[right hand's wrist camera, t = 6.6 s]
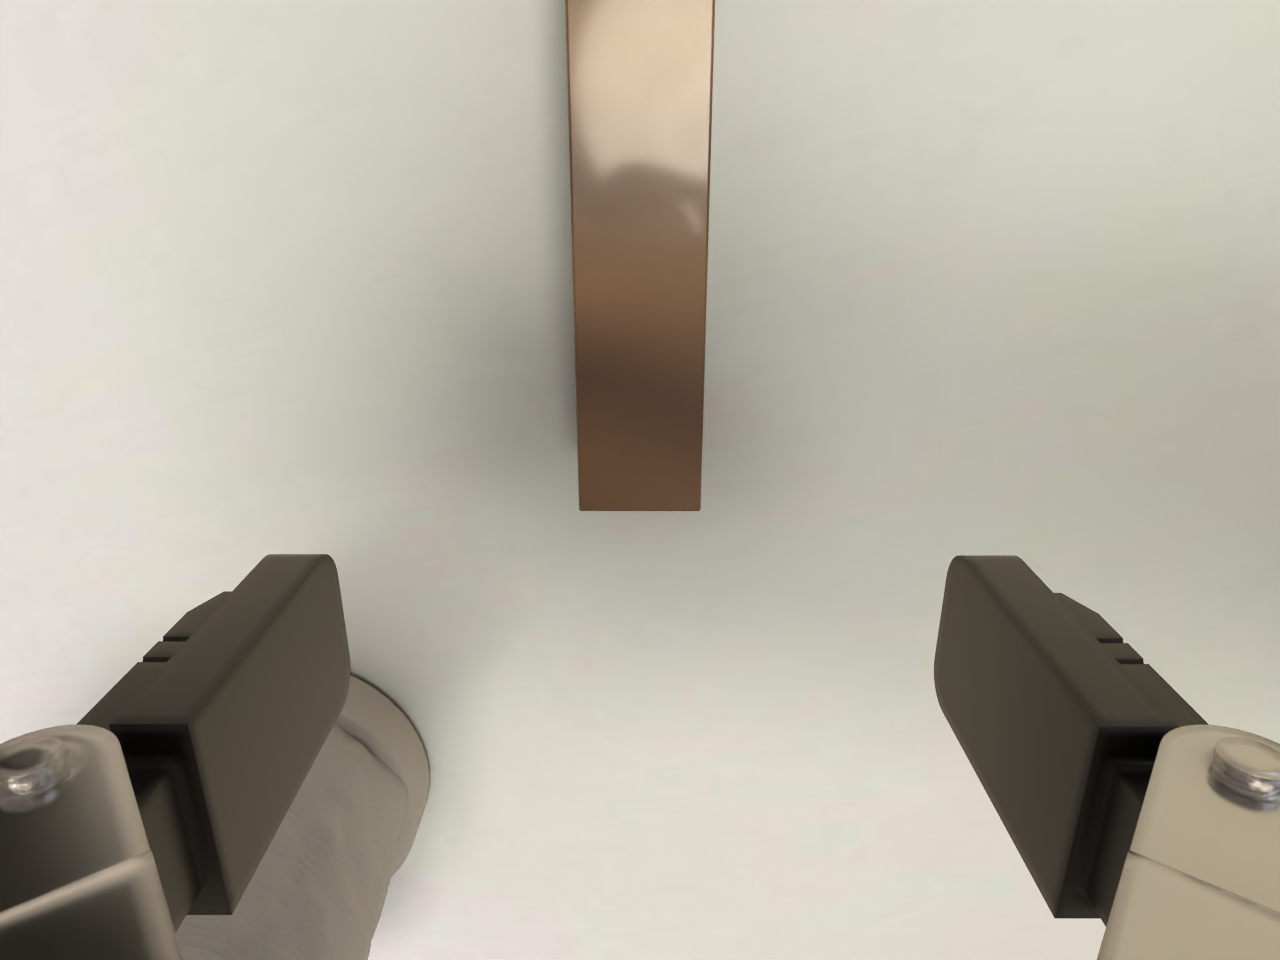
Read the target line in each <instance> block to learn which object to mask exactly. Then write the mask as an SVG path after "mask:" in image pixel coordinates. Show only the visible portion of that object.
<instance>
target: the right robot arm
mask: <svg viewBox="0 0 1280 960" xmlns="http://www.w3.org/2000/svg"><path fill="white" fill-rule="evenodd" d="M934 680H935V688H936V693H937V698H938V701H939V704H940V707H941V709H942V711H943V713H944V715H945V717H946V719H947V721H948V722H949V724H950V726H951V728H952V730H953V732H954V733H955V735H956V737H957V739H958V741H959V743H960V744H961V746H962V748H963V750H964V752H965V754H966V756H967V757H968V759H969V761H970V763H971V765H972V767H973V768H974V770H975V772H976V774H977V776H978V778H979V779H980V781H981V783H982V785H983V787H984V789H985V791H986V792H987V794H988V796H989V798H990V800H991V802H992V803H993V805H994V807H995V809H996V811H997V813H998V815H999V816H1000V818H1001V820H1002V822H1003V824H1004V826H1005V827H1006V829H1007V831H1008V833H1009V835H1010V837H1011V838H1012V840H1013V842H1014V844H1015V846H1016V848H1017V850H1018V851H1019V853H1020V855H1021V857H1022V859H1023V861H1024V862H1025V864H1026V866H1027V868H1028V870H1029V872H1030V873H1031V875H1032V877H1033V879H1034V881H1035V883H1036V885H1037V886H1038V888H1039V890H1040V892H1041V894H1042V896H1043V897H1044V899H1045V901H1046V903H1047V905H1048V907H1049V909H1050V910H1051V912H1052V914H1053V916H1054V918H1101V919H1102V921H1103V923H1104V924H1105V926H1106V930H1105V933H1104V937H1103V940H1102V944H1101V947H1100V951H1099V954H1098V958H1097V960H1280V744H1278V743H1276V742H1274V741H1272V740H1269V739H1267V738H1264V737H1261V736H1258V735H1256V734H1253V733H1249V732H1245V731H1242V730H1238V729H1233V728H1228V727H1223V726H1215V725H1209V724H1208V723H1207V722H1206V721H1205V720H1204V719H1203V718H1202V717H1201V716H1200V715H1199V714H1198V713H1197V712H1196V711H1195V710H1194V709H1193V708H1192V707H1191V706H1190V705H1189V704H1188V703H1187V702H1186V701H1185V700H1184V699H1183V698H1182V697H1181V696H1180V695H1179V694H1178V693H1177V692H1176V691H1175V690H1174V689H1173V688H1172V687H1171V686H1170V685H1169V684H1168V683H1167V682H1166V681H1165V680H1164V679H1163V678H1162V677H1161V676H1160V675H1159V674H1158V673H1157V672H1156V671H1155V670H1154V669H1153V668H1152V667H1151V666H1150V665H1149V664H1144V663H1143V658H1142V657H1141V656H1140V655H1139V654H1138V653H1137V652H1136V651H1135V650H1134V649H1133V648H1132V647H1131V646H1130V645H1129V644H1128V643H1123V638H1122V637H1121V636H1120V635H1119V634H1118V633H1117V632H1116V631H1115V630H1114V629H1113V628H1112V627H1111V626H1110V625H1109V624H1108V623H1107V622H1106V621H1105V620H1104V619H1103V618H1102V617H1101V616H1100V615H1099V614H1098V613H1096V612H1094V611H1092V610H1091V609H1089V608H1087V607H1085V606H1083V605H1082V604H1080V603H1078V602H1076V601H1075V600H1073V599H1071V598H1069V597H1067V596H1066V595H1064V594H1062V593H1053V592H1052V591H1051V590H1050V589H1049V588H1048V587H1047V586H1046V585H1045V584H1044V583H1043V582H1042V581H1041V579H1040V578H1039V577H1038V576H1037V575H1036V574H1035V573H1034V572H1033V571H1032V570H1031V569H1030V568H1029V567H1028V566H1027V565H1026V563H1025V562H1024V561H1023V560H1022V559H1020V558H1019V557H1017V556H956V557H955V558H954V559H953V560H952V561H951V563H950V566H949V569H948V573H947V578H946V585H945V592H944V599H943V605H942V612H941V619H940V626H939V633H938V640H937V646H936V653H935V661H934ZM349 683H350V656H349V649H348V642H347V635H346V628H345V621H344V614H343V607H342V600H341V593H340V586H339V579H338V573H337V569H336V565H335V563H334V561H333V559H332V558H331V557H330V556H329V555H327V554H270V555H267V556H265V557H264V558H263V559H262V560H261V561H260V562H259V563H258V565H257V566H256V567H255V568H254V569H253V570H252V571H251V572H250V573H249V574H248V575H247V576H246V577H245V579H244V580H243V581H242V582H241V583H240V584H239V585H238V586H237V587H236V588H235V589H234V590H233V591H232V592H223V593H221V594H219V595H217V596H215V597H214V598H212V599H210V600H208V601H207V602H205V603H203V604H201V605H199V606H198V607H196V608H194V609H192V610H191V611H189V612H187V613H186V614H185V615H184V616H183V617H182V618H181V619H180V620H179V621H178V622H177V623H176V624H175V625H174V626H173V627H172V628H171V629H170V630H169V631H168V632H167V633H166V634H165V635H164V636H163V642H157V643H156V644H155V645H154V646H153V648H152V649H151V650H150V651H149V652H148V653H147V654H146V655H145V656H144V657H143V662H138V663H137V664H136V665H135V666H134V667H133V668H132V669H131V670H130V671H129V672H128V673H127V674H126V675H125V676H124V677H123V678H122V679H121V680H120V681H119V682H118V683H117V684H116V685H115V686H114V687H113V688H112V689H111V690H110V691H109V692H108V693H107V694H106V695H105V696H104V697H103V698H102V699H101V700H100V701H99V702H98V703H97V704H96V705H95V706H94V707H93V708H92V709H91V710H90V711H89V712H88V713H87V714H86V715H85V716H84V717H83V718H82V719H81V720H80V721H79V722H78V723H77V724H76V725H65V726H57V727H52V728H47V729H42V730H38V731H35V732H31V733H27V734H24V735H22V736H19V737H16V738H13V739H11V740H8V741H6V742H4V743H2V744H0V960H183V958H182V954H181V951H180V947H179V944H178V940H177V937H176V932H177V930H178V928H179V927H180V925H181V923H182V922H183V920H184V918H185V917H186V915H232V914H233V912H234V910H235V908H236V907H237V905H238V903H239V901H240V899H241V897H242V895H243V894H244V892H245V890H246V888H247V886H248V884H249V882H250V880H251V879H252V877H253V875H254V873H255V871H256V869H257V867H258V866H259V864H260V862H261V860H262V858H263V856H264V854H265V852H266V851H267V849H268V847H269V845H270V843H271V841H272V839H273V838H274V836H275V834H276V832H277V830H278V828H279V826H280V825H281V823H282V821H283V819H284V817H285V815H286V813H287V811H288V810H289V808H290V806H291V804H292V802H293V800H294V798H295V797H296V795H297V793H298V791H299V789H300V787H301V785H302V783H303V782H304V780H305V778H306V776H307V774H308V772H309V770H310V769H311V767H312V765H313V763H314V761H315V759H316V757H317V755H318V754H319V752H320V750H321V748H322V746H323V744H324V742H325V741H326V739H327V737H328V735H329V733H330V731H331V729H332V727H333V726H334V724H335V722H336V720H337V718H338V716H339V714H340V713H341V711H342V709H343V707H344V704H345V701H346V698H347V694H348V689H349Z"/></svg>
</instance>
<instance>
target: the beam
mask: <svg viewBox="0 0 1280 960" xmlns="http://www.w3.org/2000/svg"><path fill="white" fill-rule="evenodd" d="M565 3H566V40H567V77H568V114H569V151H570V188H571V225H572V262H573V299H574V336H575V373H576V410H577V447H578V484H579V509H580V510H581V511H700V508H701V473H702V438H703V403H704V368H705V333H706V298H707V263H708V228H709V193H710V158H711V123H712V88H713V53H714V18H715V0H565Z"/></svg>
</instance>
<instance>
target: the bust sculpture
mask: <svg viewBox="0 0 1280 960" xmlns="http://www.w3.org/2000/svg"><path fill="white" fill-rule="evenodd" d="M429 786H430V774H429V766H428V760H427V756H426V753H425V750H424V747H423V745H422V743H421V740H420V738H419V736H418V734H417V733H416V731H415V729H414V728H413V726H412V725H411V723H410V722H409V720H408V719H407V718H406V717H405V715H404V714H403V713H402V712H401V711H400V710H399V709H398V708H397V707H396V706H395V705H394V704H393V703H392V702H391V701H390V700H389V699H388V698H386V697H385V696H384V695H383V694H381V693H380V692H379V691H377V690H376V689H374V688H373V687H371V686H370V685H368V684H366V683H365V682H363V681H361V680H359V679H357V678H355V677H353V676H351V675H350V683H349V689H348V694H347V698H346V701H345V704H344V707H343V709H342V711H341V713H340V714H339V716H338V718H337V720H336V722H335V724H334V726H333V727H332V729H331V731H330V733H329V735H328V737H327V739H326V741H325V742H324V744H323V746H322V748H321V750H320V752H319V754H318V755H317V757H316V759H315V761H314V763H313V765H312V767H311V769H310V770H309V772H308V774H307V776H306V778H305V780H304V782H303V783H302V785H301V787H300V789H299V791H298V793H297V795H296V797H295V798H294V800H293V802H292V804H291V806H290V808H289V810H288V811H287V813H286V815H285V817H284V819H283V821H282V823H281V825H280V826H279V828H278V830H277V832H276V834H275V836H274V838H273V839H272V841H271V843H270V845H269V847H268V849H267V851H266V852H265V854H264V856H263V858H262V860H261V862H260V864H259V866H258V867H257V869H256V871H255V873H254V875H253V877H252V879H251V880H250V882H249V884H248V886H247V888H246V890H245V892H244V894H243V895H242V897H241V899H240V901H239V903H238V905H237V907H236V908H235V910H234V912H233V914H232V915H186V917H185V918H184V920H183V922H182V923H181V925H180V927H179V928H178V930H177V932H176V937H177V940H178V944H179V947H180V951H181V954H182V958H183V960H367V959H368V956H369V951H370V946H371V940H372V938H373V935H374V932H375V929H376V927H377V923H378V921H379V918H380V915H381V912H382V908H383V905H384V901H385V896H386V894H387V889H388V886H389V883H390V878H391V876H392V875H393V874H394V873H395V872H396V871H397V870H398V868H399V867H400V866H401V865H402V863H403V862H404V860H405V859H406V857H407V855H408V853H409V851H410V849H411V847H412V844H413V841H414V838H415V835H416V832H417V829H418V826H419V823H420V820H421V817H422V814H423V811H424V808H425V805H426V802H427V798H428V794H429Z"/></svg>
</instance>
